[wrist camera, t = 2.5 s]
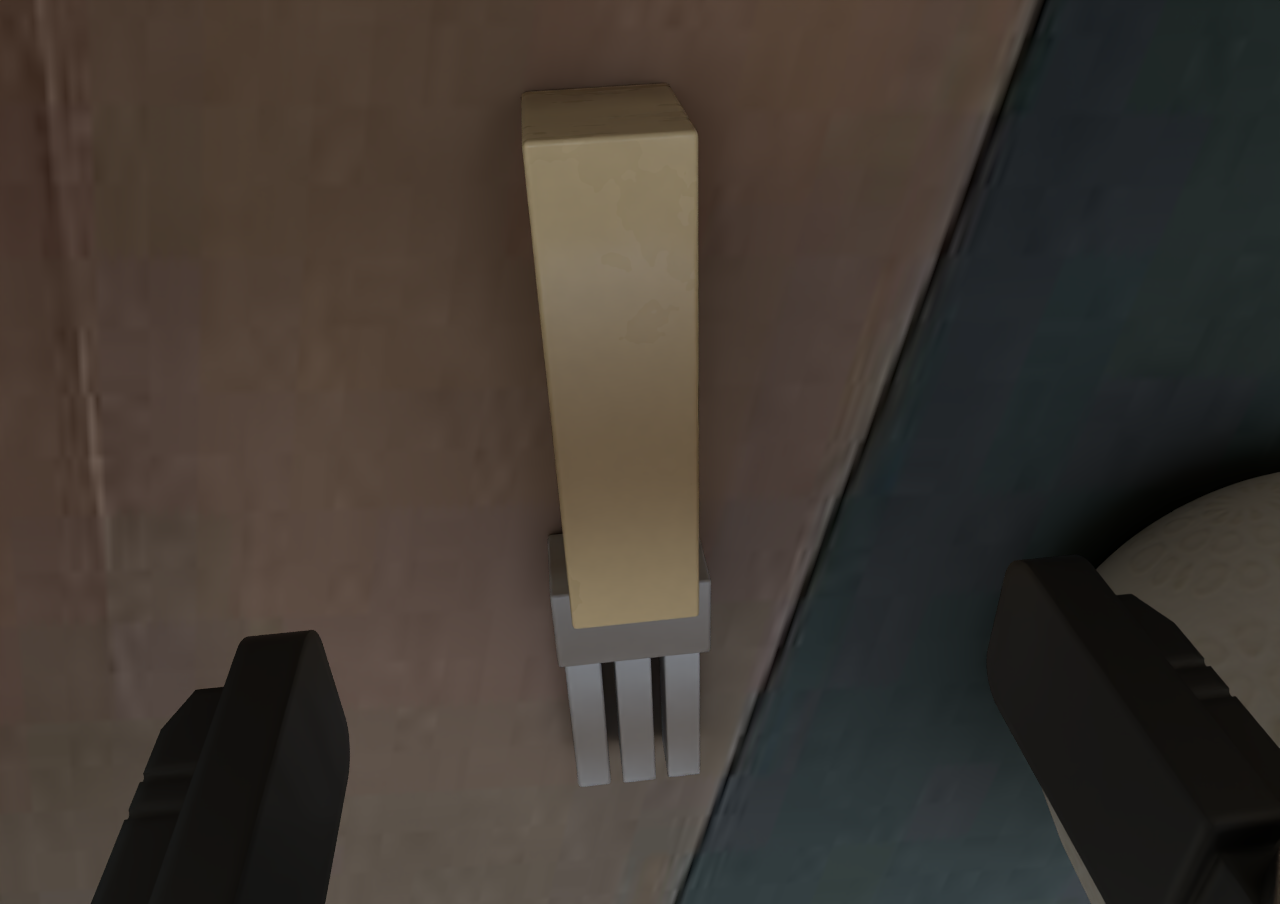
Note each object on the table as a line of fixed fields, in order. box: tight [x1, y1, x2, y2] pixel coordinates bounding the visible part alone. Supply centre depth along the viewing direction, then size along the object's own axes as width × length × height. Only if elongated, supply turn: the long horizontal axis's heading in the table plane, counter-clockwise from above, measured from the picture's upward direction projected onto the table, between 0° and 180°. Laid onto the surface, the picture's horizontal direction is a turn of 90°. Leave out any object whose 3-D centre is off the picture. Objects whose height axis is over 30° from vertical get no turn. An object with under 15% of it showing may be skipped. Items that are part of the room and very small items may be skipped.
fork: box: [521, 83, 711, 787], centre depth 18 cm, size 16×3×3 cm, turn 2°
